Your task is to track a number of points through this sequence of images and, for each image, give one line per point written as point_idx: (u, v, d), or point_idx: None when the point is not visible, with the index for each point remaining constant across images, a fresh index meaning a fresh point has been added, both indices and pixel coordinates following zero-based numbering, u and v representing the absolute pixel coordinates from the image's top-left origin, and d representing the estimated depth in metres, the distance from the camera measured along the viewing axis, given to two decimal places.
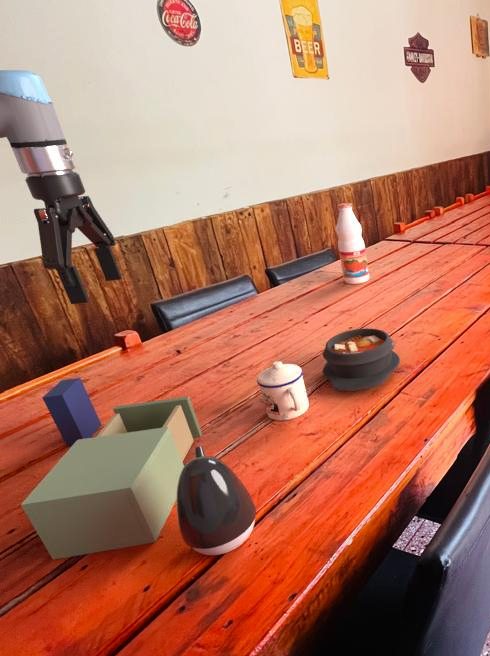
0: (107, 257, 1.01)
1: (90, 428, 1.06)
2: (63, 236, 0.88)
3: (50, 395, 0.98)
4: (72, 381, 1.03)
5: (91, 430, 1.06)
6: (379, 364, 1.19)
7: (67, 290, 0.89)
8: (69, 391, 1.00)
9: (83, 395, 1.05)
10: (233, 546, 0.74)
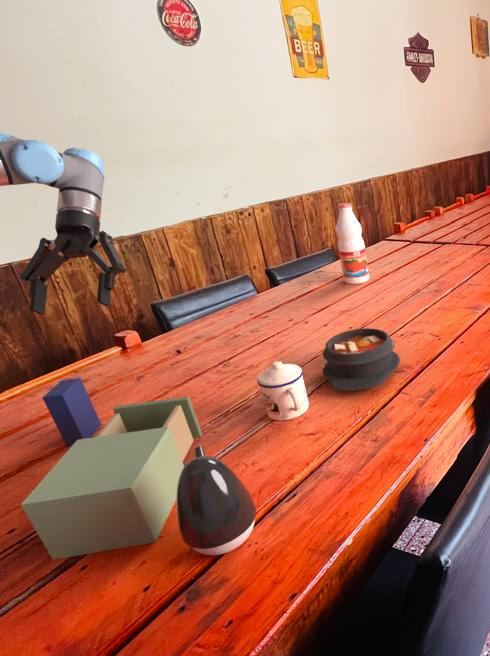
0: (43, 292, 1.07)
1: (90, 428, 1.06)
2: (100, 256, 1.09)
3: (50, 395, 0.98)
4: (72, 381, 1.03)
5: (91, 430, 1.06)
6: (379, 364, 1.19)
7: (102, 290, 1.05)
8: (69, 391, 1.00)
9: (83, 395, 1.05)
10: (233, 546, 0.74)
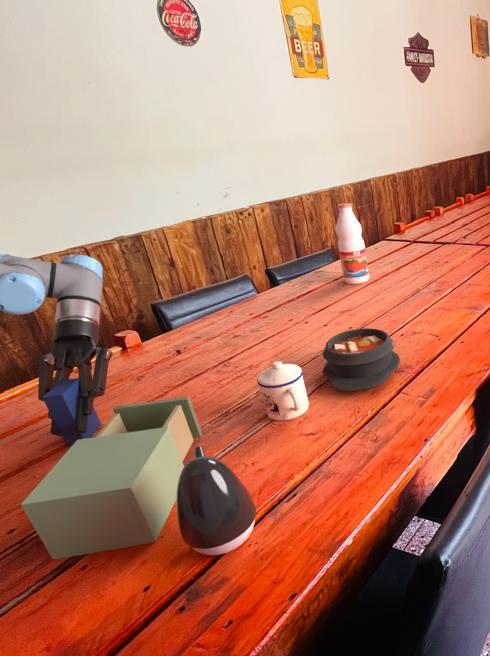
0: None
1: (90, 428, 1.06)
2: (90, 373, 1.06)
3: (50, 395, 0.98)
4: (72, 381, 1.03)
5: (91, 430, 1.06)
6: (379, 364, 1.19)
7: (80, 417, 1.02)
8: (69, 391, 1.00)
9: None
10: (233, 546, 0.74)
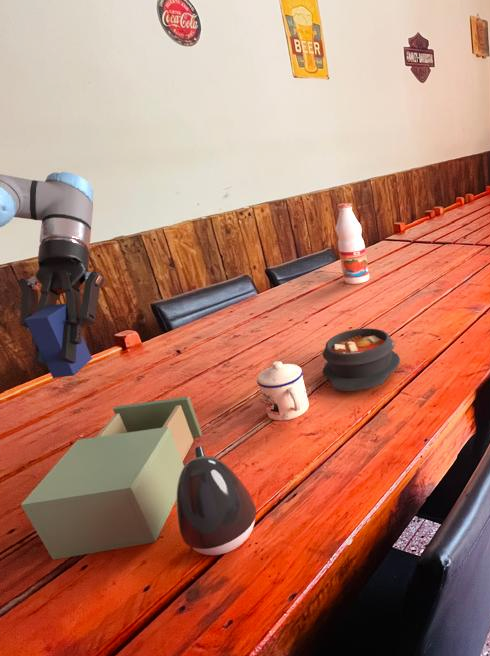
0: None
1: (79, 360, 0.95)
2: (78, 300, 0.96)
3: (34, 317, 0.88)
4: (59, 306, 0.93)
5: (80, 363, 0.95)
6: (379, 364, 1.19)
7: (68, 345, 0.91)
8: (55, 315, 0.90)
9: None
10: (233, 546, 0.74)
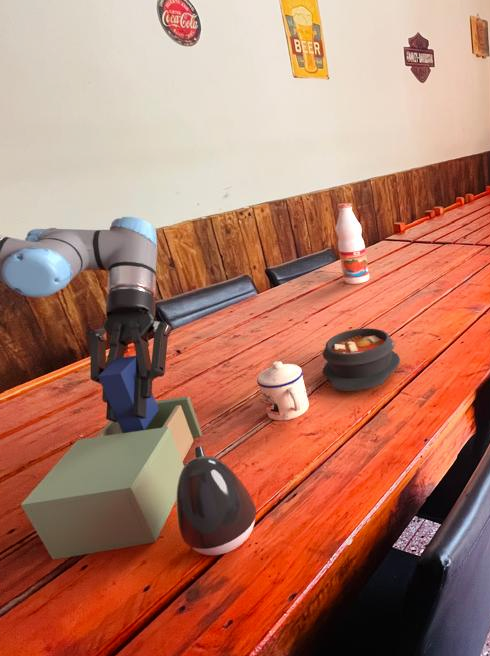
0: None
1: (148, 413, 0.92)
2: (147, 351, 0.93)
3: (107, 374, 0.85)
4: (129, 358, 0.90)
5: (149, 416, 0.92)
6: (379, 364, 1.19)
7: (139, 400, 0.88)
8: (127, 370, 0.87)
9: None
10: (233, 546, 0.74)
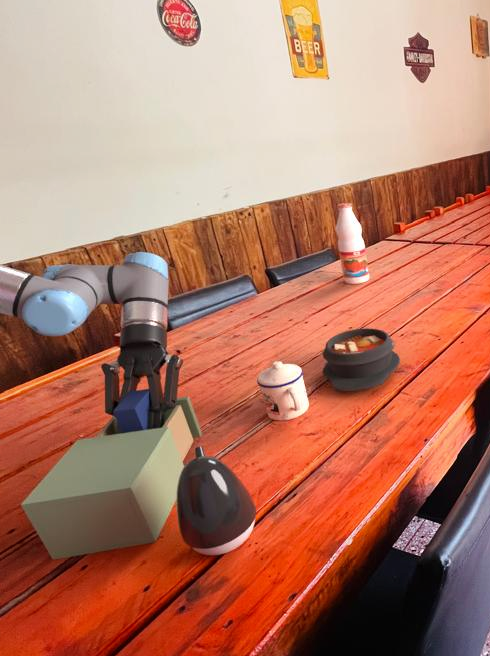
0: None
1: None
2: (159, 384, 0.96)
3: (121, 409, 0.88)
4: (142, 392, 0.93)
5: None
6: (379, 364, 1.19)
7: None
8: (141, 404, 0.90)
9: None
10: (233, 546, 0.74)
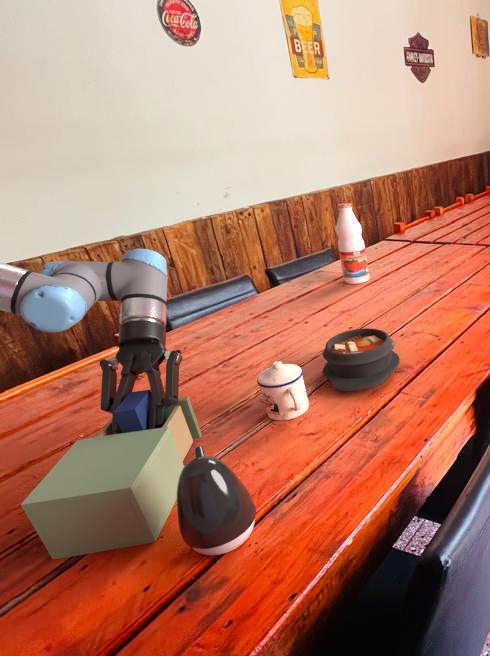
0: None
1: None
2: (160, 380, 0.95)
3: (121, 410, 0.88)
4: (142, 393, 0.93)
5: None
6: (379, 364, 1.19)
7: (154, 428, 0.91)
8: (141, 405, 0.90)
9: None
10: (233, 546, 0.74)
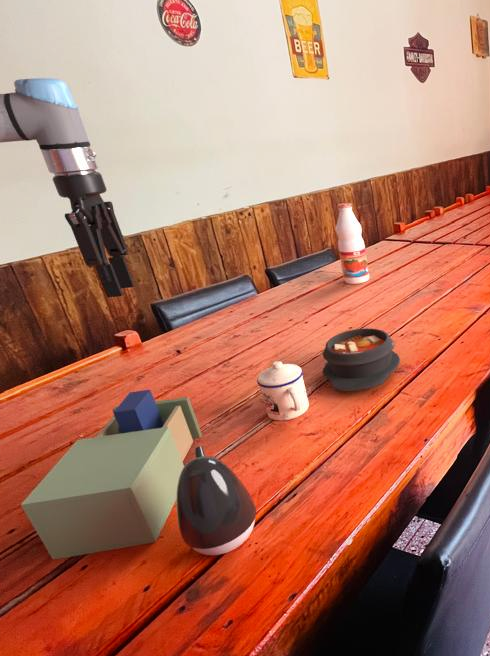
0: (121, 266, 1.05)
1: None
2: (94, 235, 0.97)
3: (121, 410, 0.88)
4: (142, 393, 0.93)
5: None
6: (379, 364, 1.19)
7: (104, 284, 1.01)
8: (141, 405, 0.90)
9: (153, 408, 0.94)
10: (233, 546, 0.74)
